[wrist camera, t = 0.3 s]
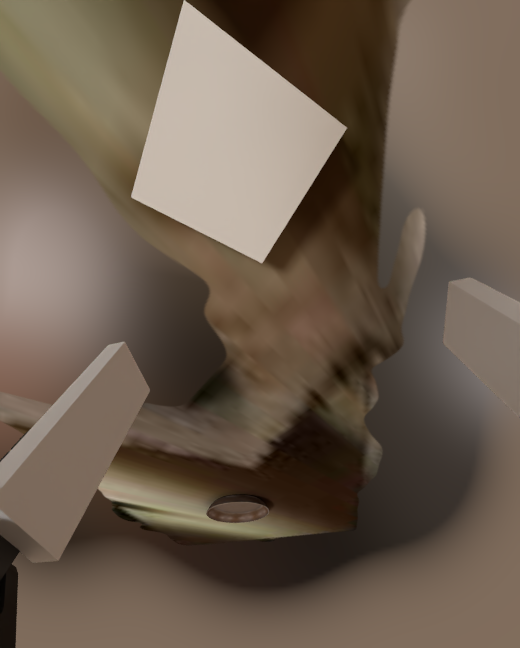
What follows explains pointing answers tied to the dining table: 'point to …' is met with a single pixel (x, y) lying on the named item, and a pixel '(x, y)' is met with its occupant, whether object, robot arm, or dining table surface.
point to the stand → (230, 141)
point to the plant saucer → (237, 509)
